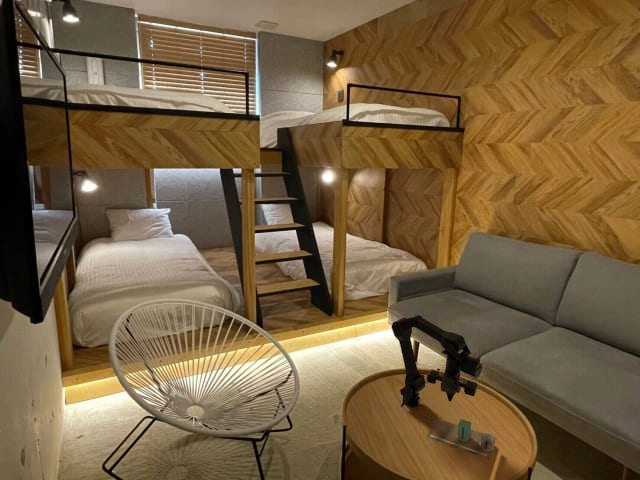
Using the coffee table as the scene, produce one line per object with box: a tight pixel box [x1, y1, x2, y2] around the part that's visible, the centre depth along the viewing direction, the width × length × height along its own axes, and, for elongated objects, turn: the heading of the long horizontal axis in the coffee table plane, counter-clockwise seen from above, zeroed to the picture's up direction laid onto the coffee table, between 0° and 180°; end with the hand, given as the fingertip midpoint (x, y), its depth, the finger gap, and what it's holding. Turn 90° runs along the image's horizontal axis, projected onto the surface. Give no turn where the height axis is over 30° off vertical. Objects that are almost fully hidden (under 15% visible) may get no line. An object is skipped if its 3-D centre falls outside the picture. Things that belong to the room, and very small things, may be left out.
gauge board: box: [426, 417, 497, 460], centre depth 166 cm, size 24×13×5 cm, turn 58°
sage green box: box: [457, 418, 472, 442], centre depth 165 cm, size 4×4×6 cm
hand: (450, 401), depth 173 cm, fingers closed
